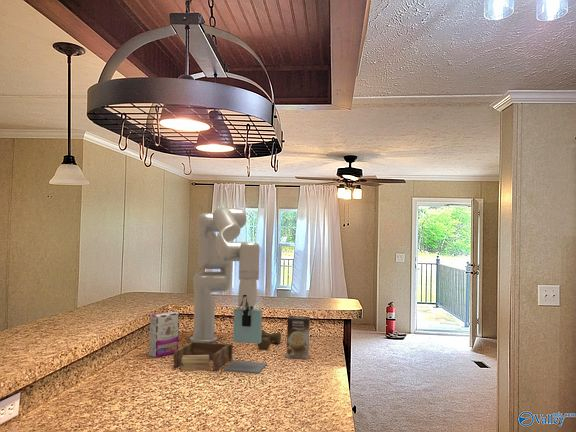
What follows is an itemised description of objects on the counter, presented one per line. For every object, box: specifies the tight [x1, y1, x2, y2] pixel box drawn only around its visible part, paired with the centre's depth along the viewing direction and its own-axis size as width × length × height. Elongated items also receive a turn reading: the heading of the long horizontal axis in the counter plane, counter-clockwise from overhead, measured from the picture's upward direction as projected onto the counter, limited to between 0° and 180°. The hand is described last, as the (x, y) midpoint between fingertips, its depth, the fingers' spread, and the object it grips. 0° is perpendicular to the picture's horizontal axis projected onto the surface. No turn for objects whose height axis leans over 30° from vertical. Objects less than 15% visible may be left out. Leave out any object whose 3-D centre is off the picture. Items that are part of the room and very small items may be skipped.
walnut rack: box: [173, 340, 233, 372], centre depth 173 cm, size 16×18×6 cm
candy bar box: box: [148, 311, 180, 359], centre depth 186 cm, size 11×5×16 cm, turn 143°
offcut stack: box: [180, 355, 211, 372], centre depth 167 cm, size 5×10×4 cm, turn 100°
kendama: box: [256, 329, 282, 351], centre depth 207 cm, size 6×10×20 cm
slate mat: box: [223, 360, 268, 375], centre depth 170 cm, size 12×13×1 cm
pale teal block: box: [232, 307, 263, 344], centre depth 170 cm, size 3×10×12 cm, turn 80°
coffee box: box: [285, 315, 311, 360], centre depth 188 cm, size 9×6×16 cm
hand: (247, 324), depth 170 cm, fingers closed on pale teal block, 3 cm apart
